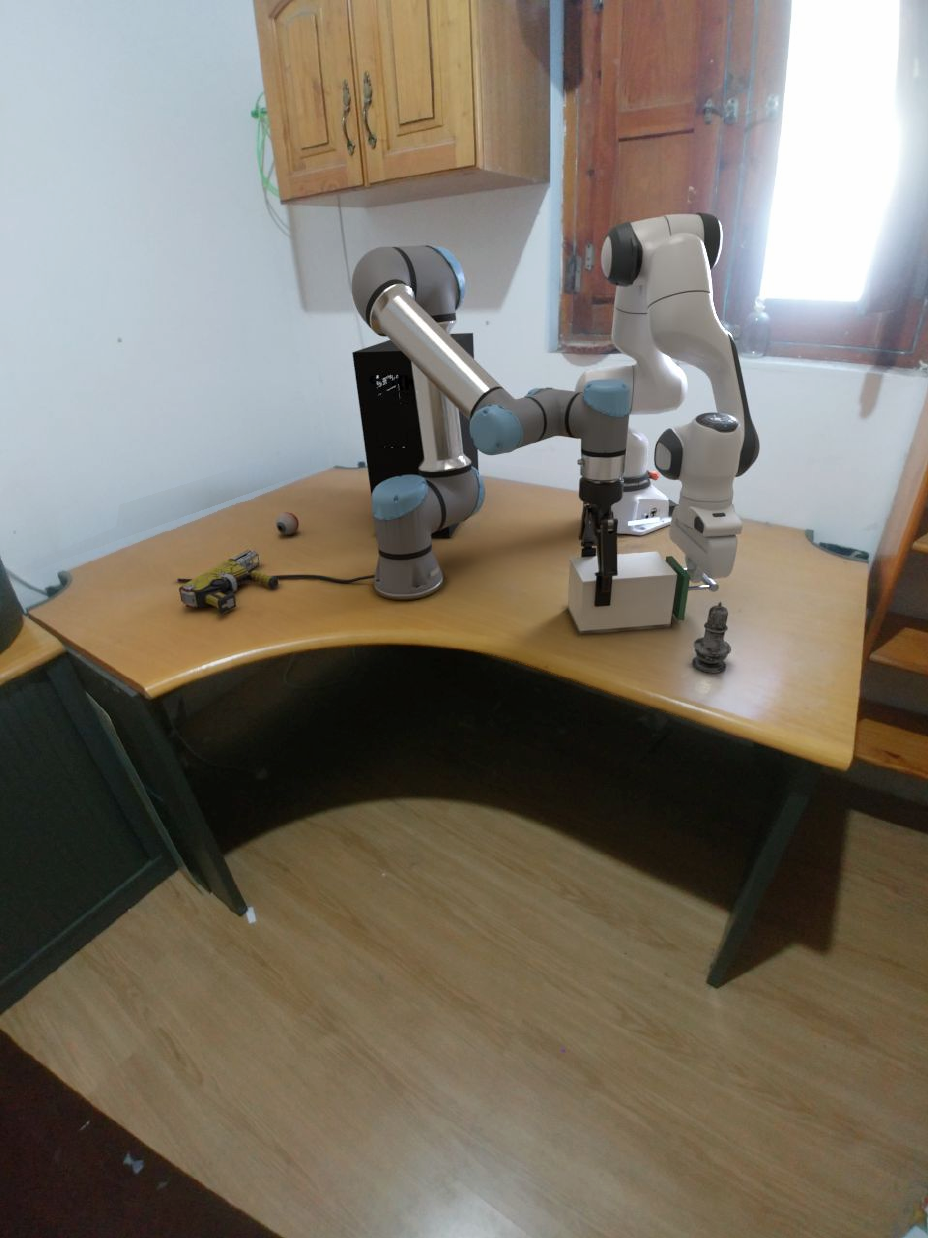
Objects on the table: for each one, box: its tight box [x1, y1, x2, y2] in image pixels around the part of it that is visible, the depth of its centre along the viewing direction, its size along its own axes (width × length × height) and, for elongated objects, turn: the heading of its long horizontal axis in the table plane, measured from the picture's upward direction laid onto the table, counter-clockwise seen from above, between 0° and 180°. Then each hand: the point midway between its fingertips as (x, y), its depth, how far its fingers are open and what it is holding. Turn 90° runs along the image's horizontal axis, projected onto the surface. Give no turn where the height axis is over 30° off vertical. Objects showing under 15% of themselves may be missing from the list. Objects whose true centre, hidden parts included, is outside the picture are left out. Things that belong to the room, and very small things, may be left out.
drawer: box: [665, 555, 720, 622], centre depth 115 cm, size 22×9×9 cm, turn 94°
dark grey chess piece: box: [692, 601, 732, 674], centre depth 99 cm, size 6×6×12 cm
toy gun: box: [178, 549, 279, 615], centre depth 136 cm, size 5×24×15 cm
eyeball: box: [275, 511, 300, 536], centre depth 163 cm, size 6×6×6 cm
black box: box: [351, 332, 480, 539], centre depth 164 cm, size 38×20×45 cm, turn 167°
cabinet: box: [567, 551, 677, 636], centre depth 115 cm, size 17×10×11 cm, turn 94°
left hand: (594, 591), depth 114 cm, fingers closed on cabinet, 10 cm apart
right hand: (693, 579), depth 114 cm, fingers closed
